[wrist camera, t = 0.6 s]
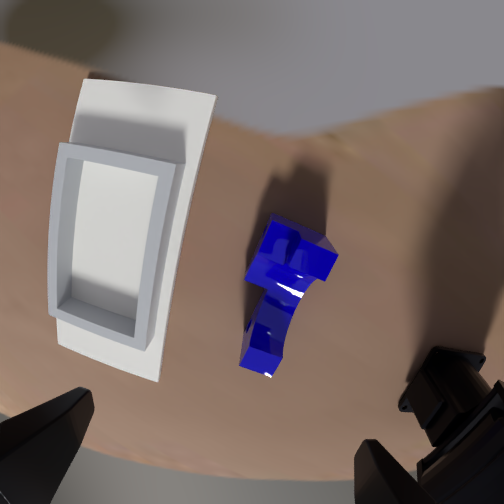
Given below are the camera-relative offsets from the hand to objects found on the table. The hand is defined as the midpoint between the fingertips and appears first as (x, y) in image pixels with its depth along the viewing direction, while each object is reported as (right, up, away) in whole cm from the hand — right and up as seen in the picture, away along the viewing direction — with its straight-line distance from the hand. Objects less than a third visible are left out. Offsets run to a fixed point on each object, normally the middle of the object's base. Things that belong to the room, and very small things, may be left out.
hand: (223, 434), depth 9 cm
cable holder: (+2, +4, +12) cm, 12 cm away
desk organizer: (-8, +6, +11) cm, 15 cm away
